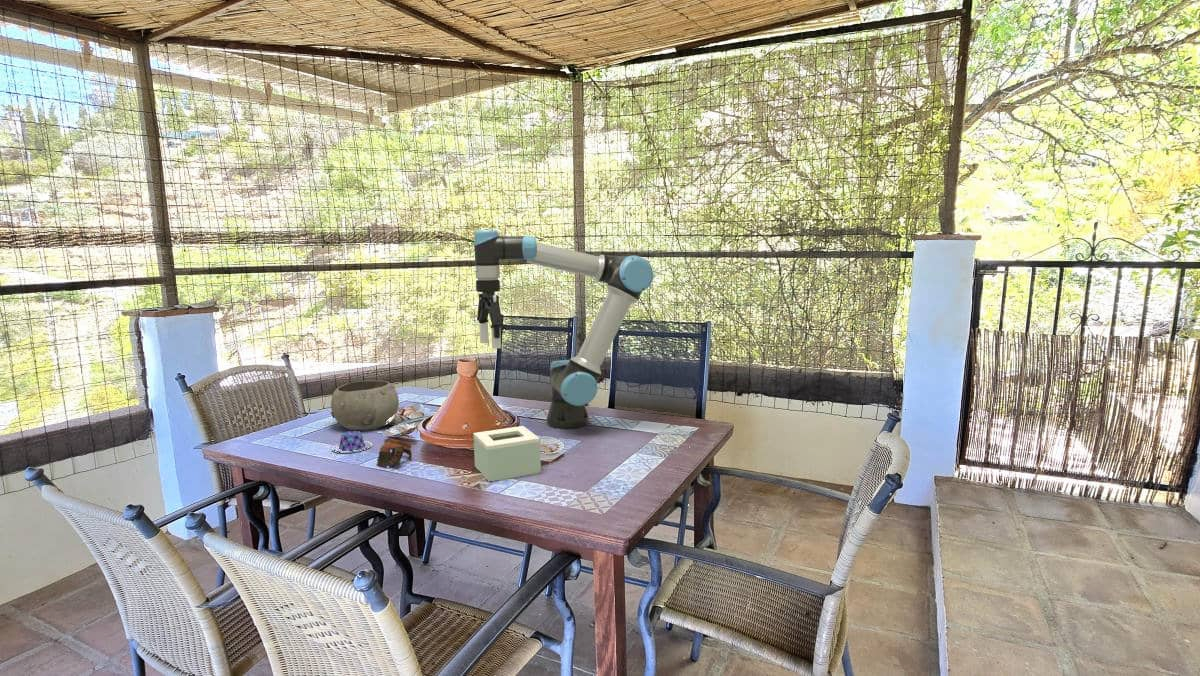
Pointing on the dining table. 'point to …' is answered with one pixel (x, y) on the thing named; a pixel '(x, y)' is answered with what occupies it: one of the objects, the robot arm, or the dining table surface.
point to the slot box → (507, 453)
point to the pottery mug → (393, 452)
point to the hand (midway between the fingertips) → (490, 345)
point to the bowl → (364, 404)
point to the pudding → (351, 441)
